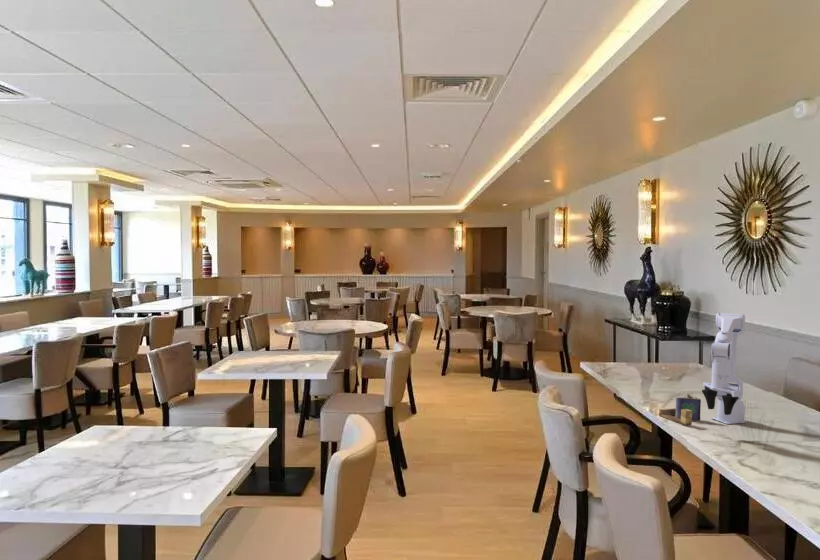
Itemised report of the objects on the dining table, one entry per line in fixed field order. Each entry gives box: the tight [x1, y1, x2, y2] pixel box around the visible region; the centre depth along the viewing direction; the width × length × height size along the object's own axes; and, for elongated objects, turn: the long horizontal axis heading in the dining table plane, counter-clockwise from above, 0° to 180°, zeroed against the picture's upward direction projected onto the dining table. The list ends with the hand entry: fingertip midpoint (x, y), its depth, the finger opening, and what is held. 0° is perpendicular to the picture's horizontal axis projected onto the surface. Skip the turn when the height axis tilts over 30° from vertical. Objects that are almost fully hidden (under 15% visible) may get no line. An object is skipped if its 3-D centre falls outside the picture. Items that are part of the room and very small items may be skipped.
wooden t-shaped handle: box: [658, 407, 693, 427], centre depth 228 cm, size 12×15×6 cm
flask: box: [674, 392, 702, 422], centre depth 229 cm, size 9×3×11 cm, turn 73°
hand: (719, 411), depth 206 cm, fingers open, 7 cm apart
